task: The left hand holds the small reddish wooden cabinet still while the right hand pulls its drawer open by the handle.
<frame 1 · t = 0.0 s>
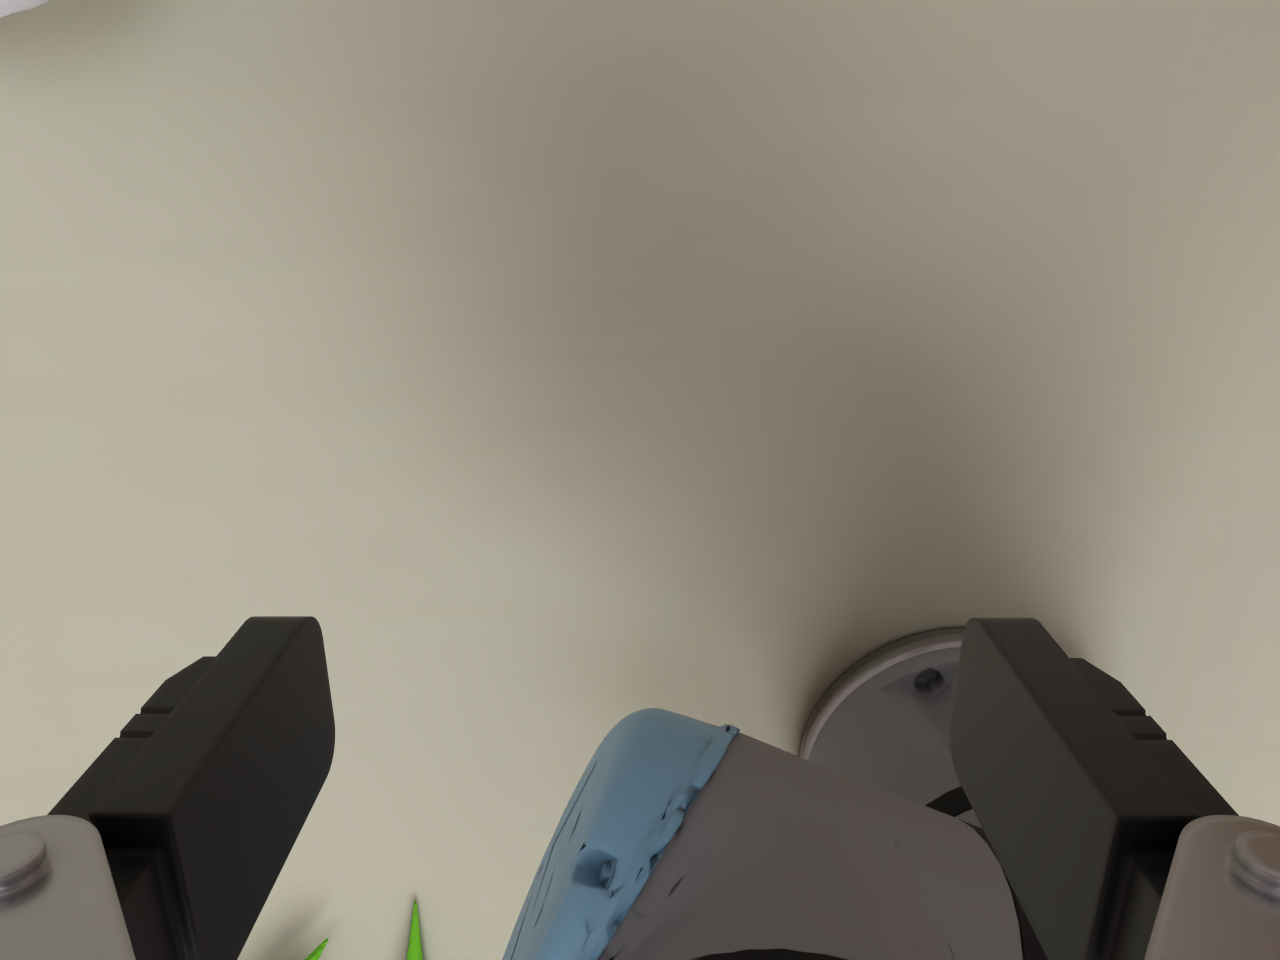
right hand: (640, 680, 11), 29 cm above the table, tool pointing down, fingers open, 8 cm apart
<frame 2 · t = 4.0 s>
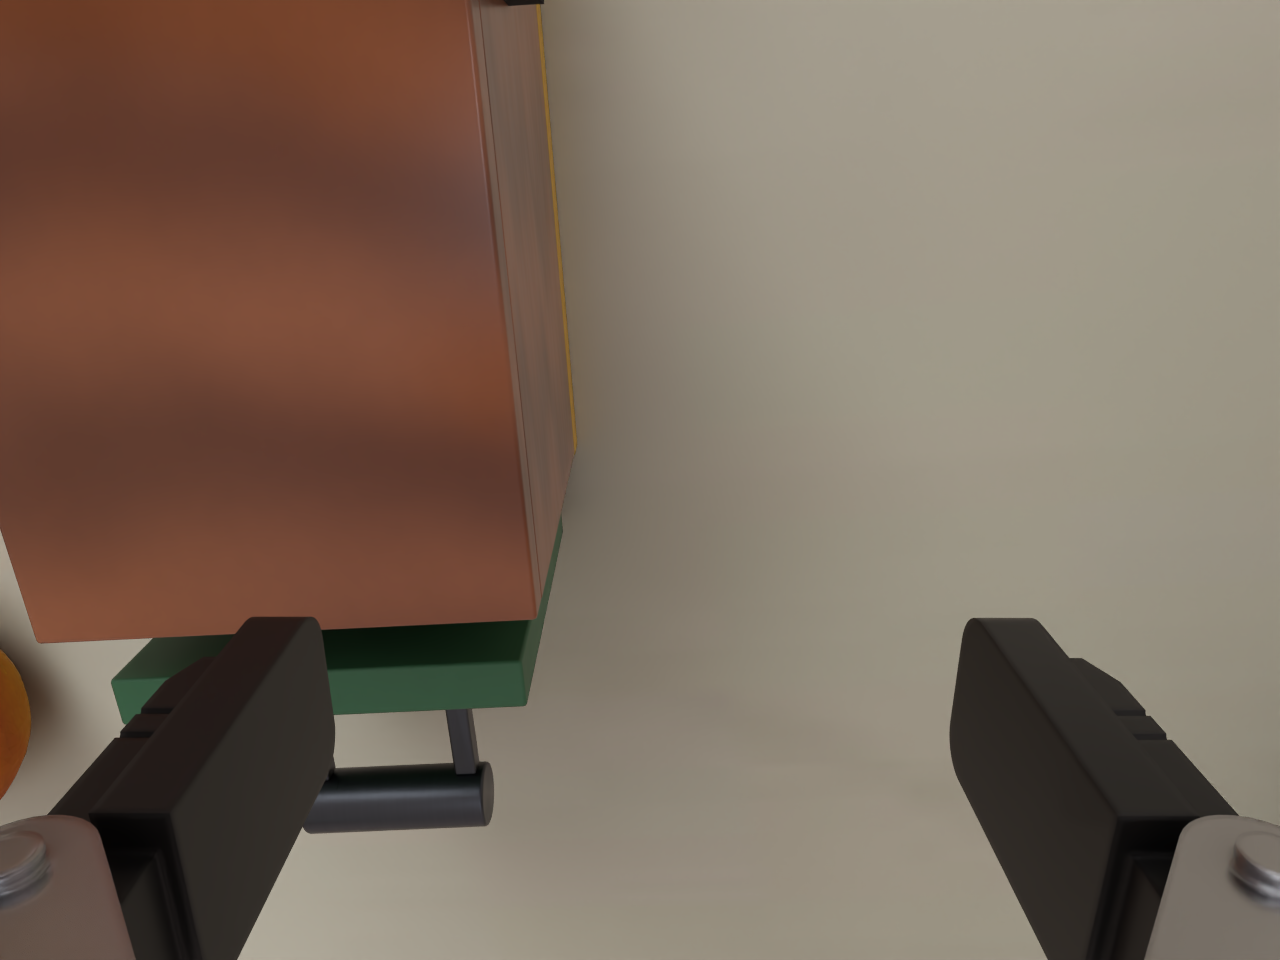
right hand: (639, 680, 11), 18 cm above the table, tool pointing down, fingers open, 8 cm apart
drawer: (351, 435, 23), point 6 cm above the table, slide at 1.5 cm
cabinet: (375, 167, 27), on the table, touching left hand
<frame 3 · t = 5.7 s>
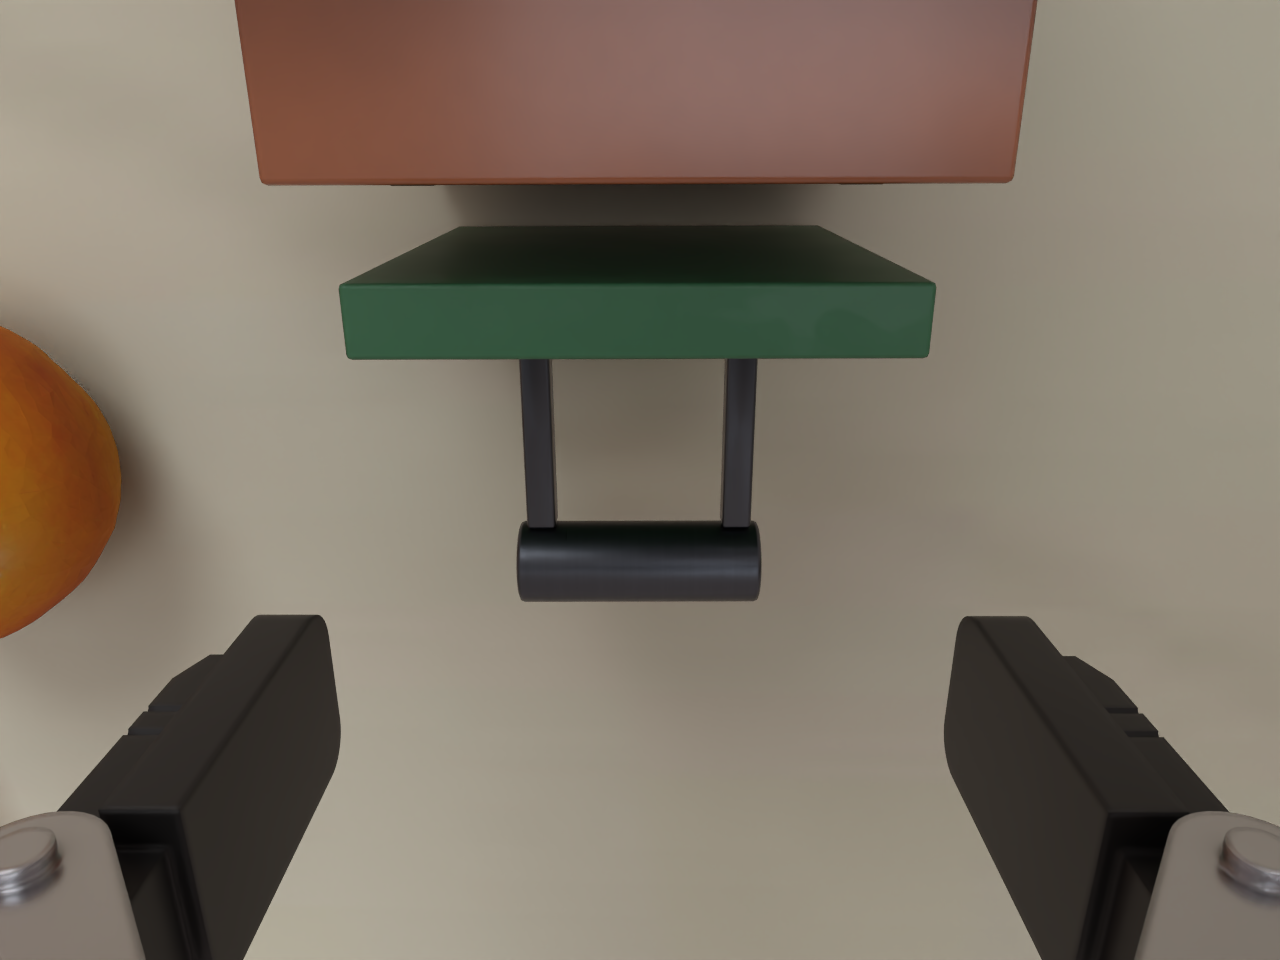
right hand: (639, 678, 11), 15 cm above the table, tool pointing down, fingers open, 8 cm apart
drawer: (637, 34, 17), point 6 cm above the table, slide at 1.5 cm
fruit: (18, 437, 26), on the table
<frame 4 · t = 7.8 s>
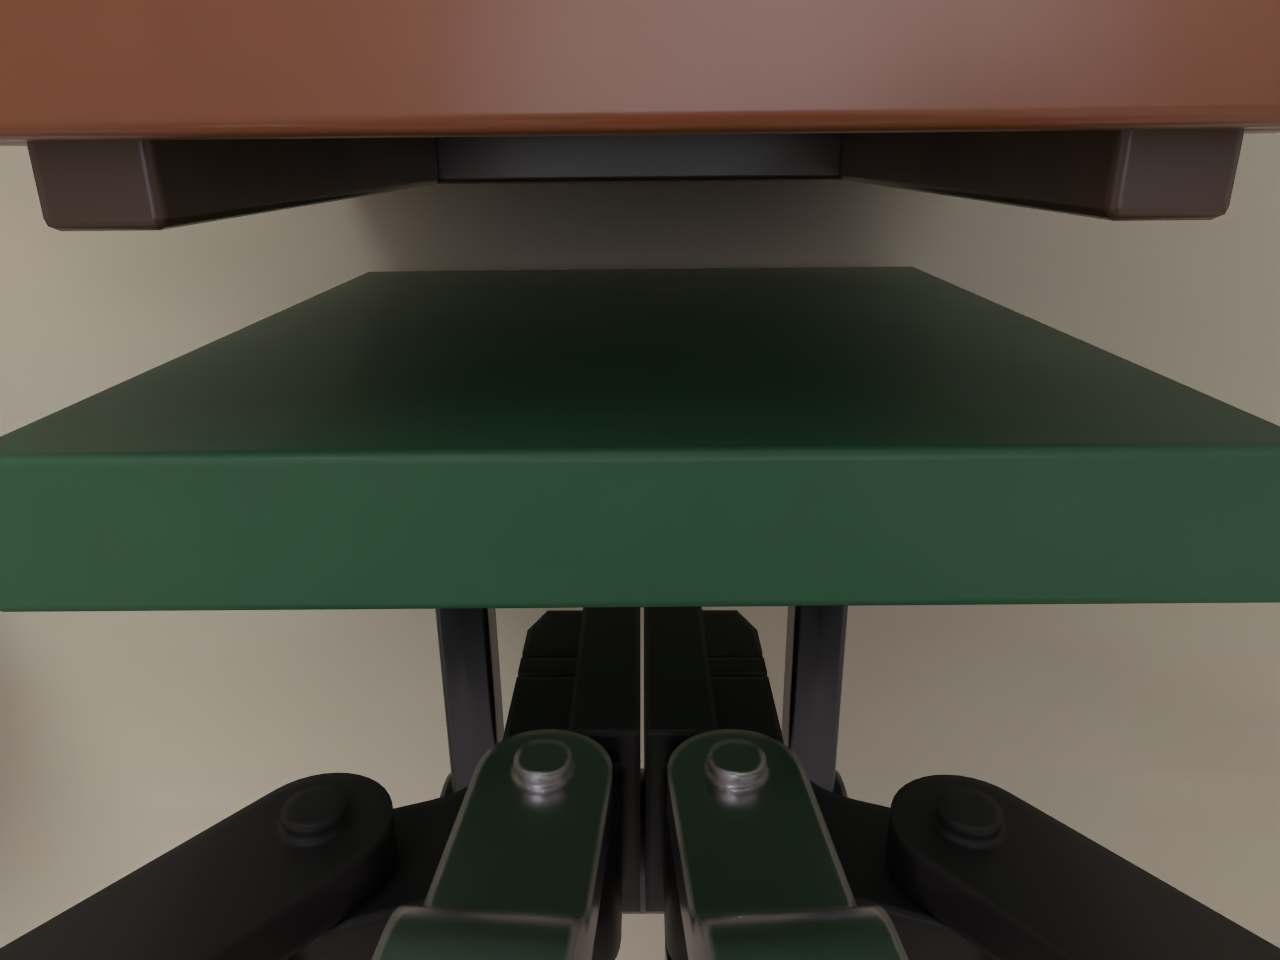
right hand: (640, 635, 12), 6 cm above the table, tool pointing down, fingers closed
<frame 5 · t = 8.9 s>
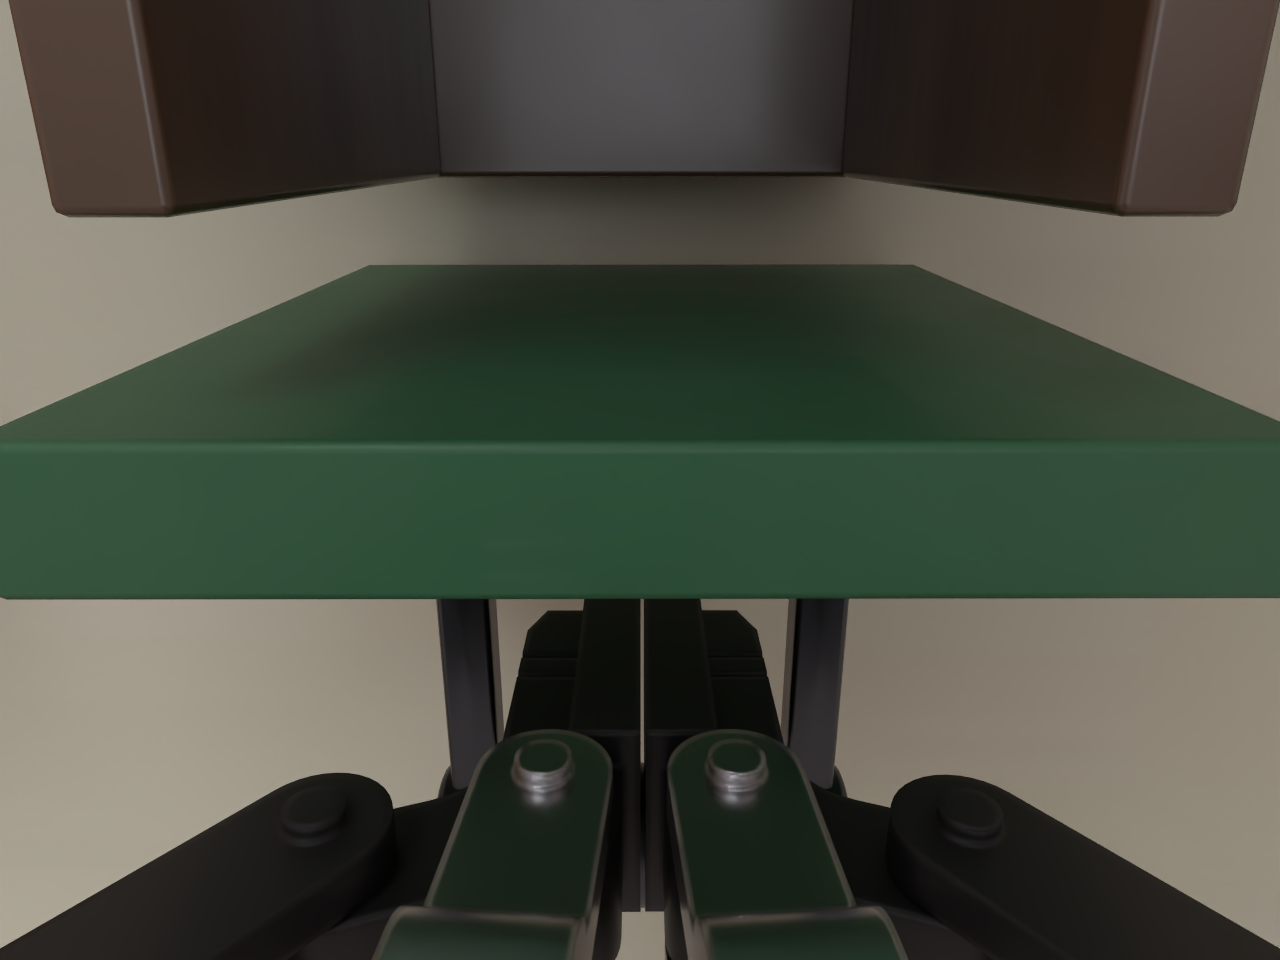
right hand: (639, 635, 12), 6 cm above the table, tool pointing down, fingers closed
when the left hand's fingers open (7 cm above the table, at t = 10.4 s): cabinet stays where it is, on the table.
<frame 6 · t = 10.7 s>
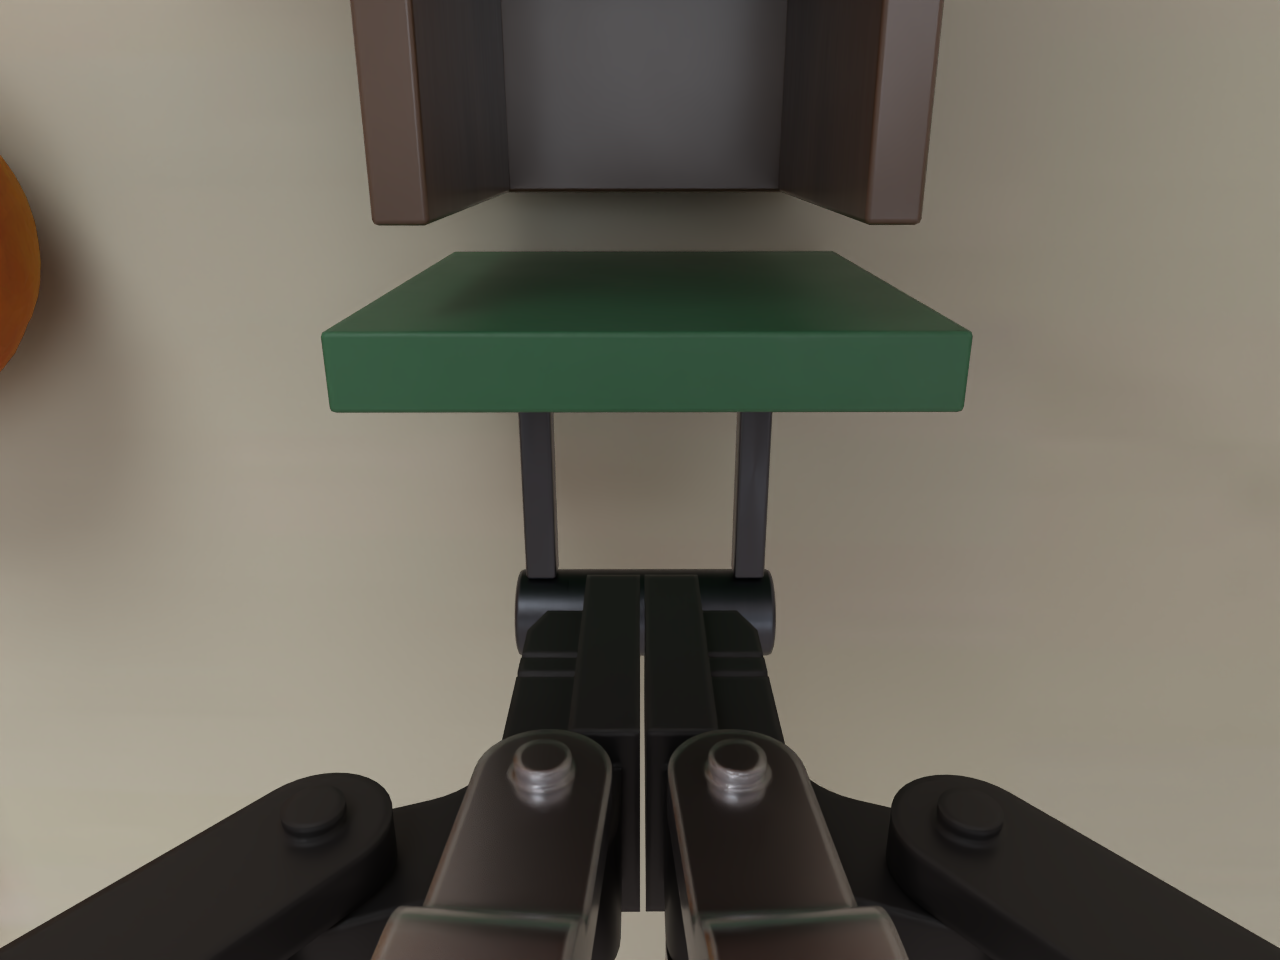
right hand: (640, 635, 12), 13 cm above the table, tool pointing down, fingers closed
drawer: (645, 54, 16), point 6 cm above the table, slide at 7.8 cm
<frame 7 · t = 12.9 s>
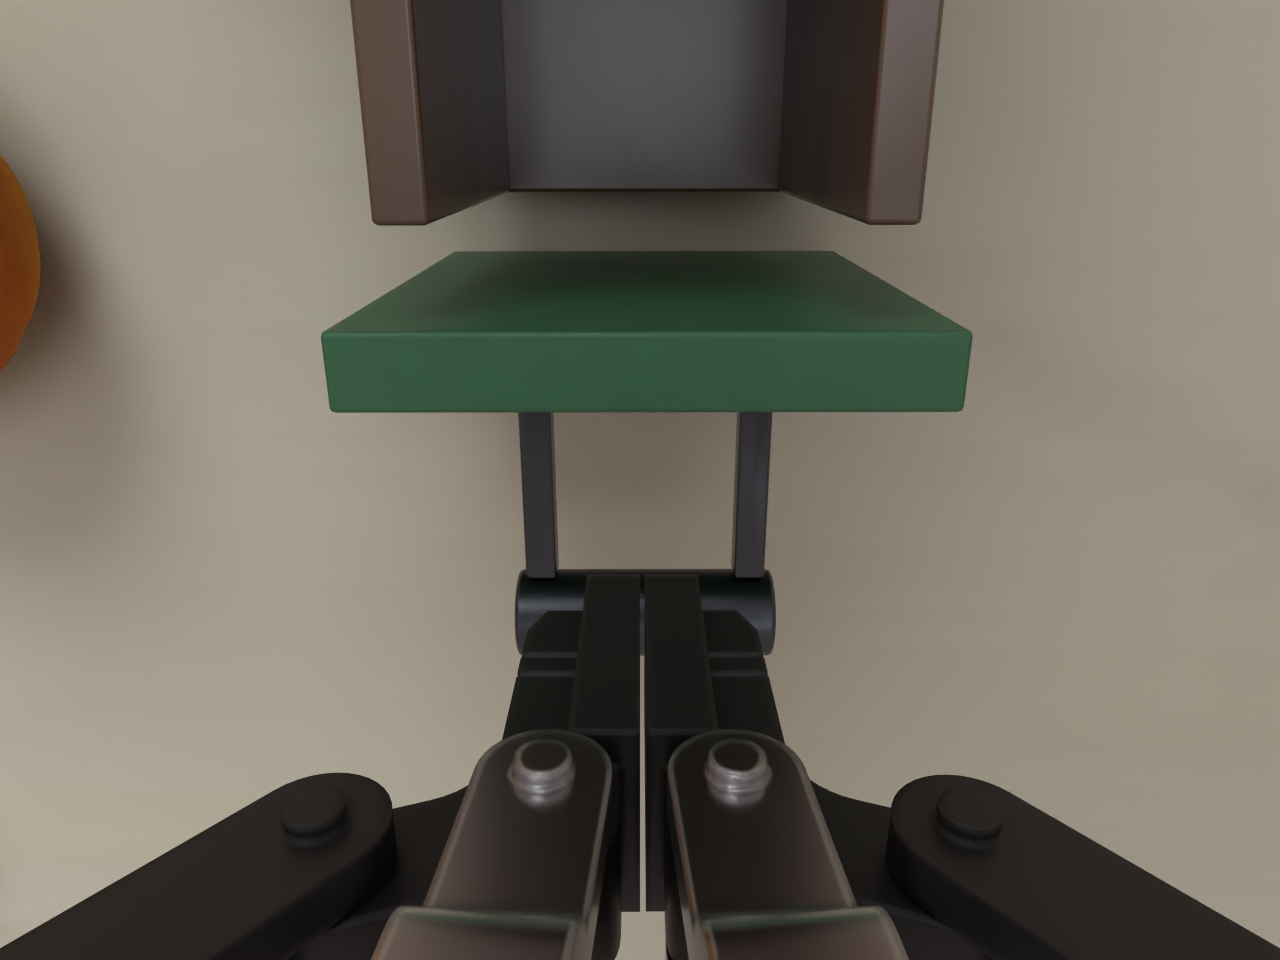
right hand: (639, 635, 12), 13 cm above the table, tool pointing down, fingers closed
drawer: (645, 54, 16), point 6 cm above the table, slide at 7.8 cm
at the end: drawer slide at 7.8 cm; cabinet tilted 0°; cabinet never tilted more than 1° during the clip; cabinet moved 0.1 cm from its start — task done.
